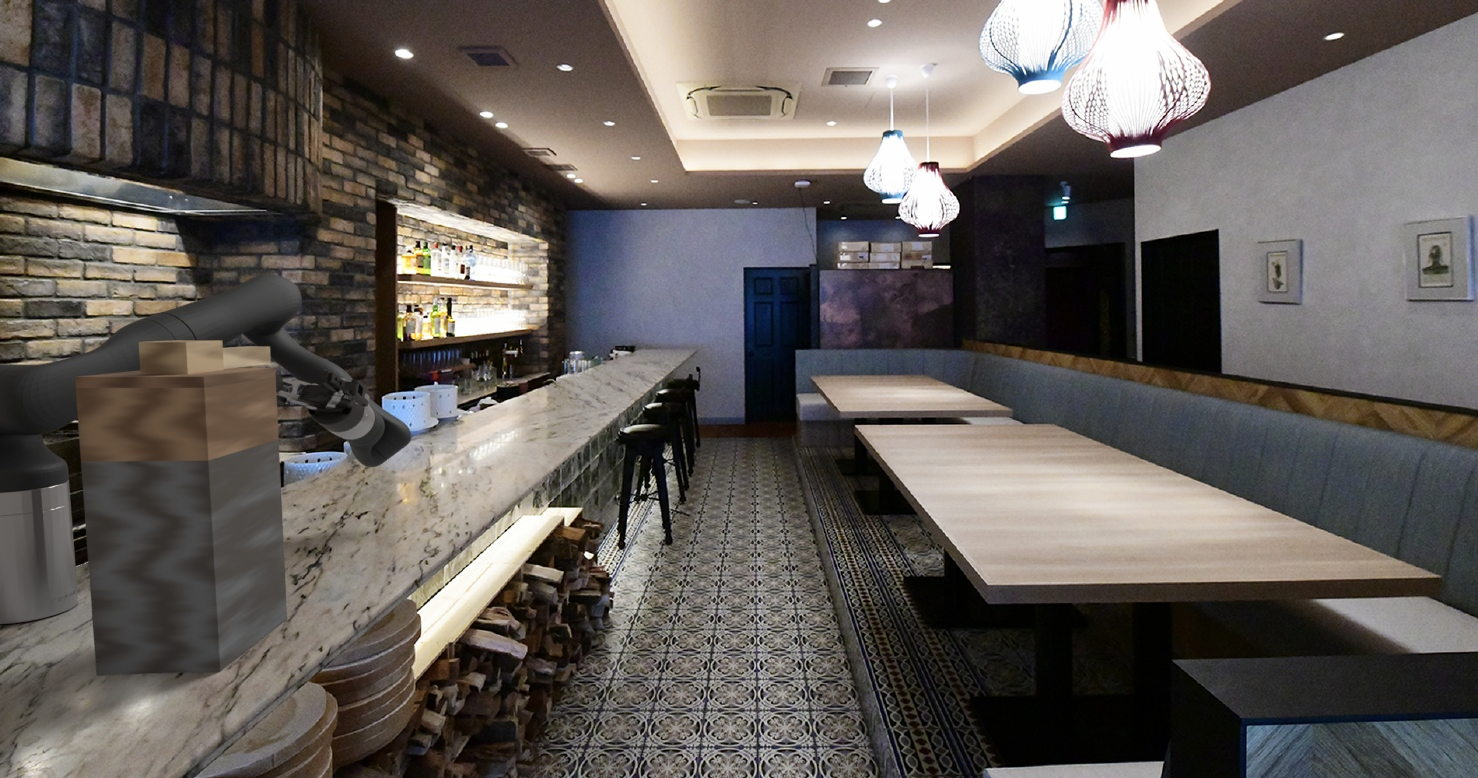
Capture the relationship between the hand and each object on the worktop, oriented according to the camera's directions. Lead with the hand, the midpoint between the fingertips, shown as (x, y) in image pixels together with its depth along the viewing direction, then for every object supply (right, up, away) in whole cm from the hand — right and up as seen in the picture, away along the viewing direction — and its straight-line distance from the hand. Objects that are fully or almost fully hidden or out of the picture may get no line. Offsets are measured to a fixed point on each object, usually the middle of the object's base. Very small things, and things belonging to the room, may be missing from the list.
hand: (295, 375), depth 114 cm
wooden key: (+1, +1, -19) cm, 19 cm away
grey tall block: (+1, -33, -22) cm, 40 cm away
